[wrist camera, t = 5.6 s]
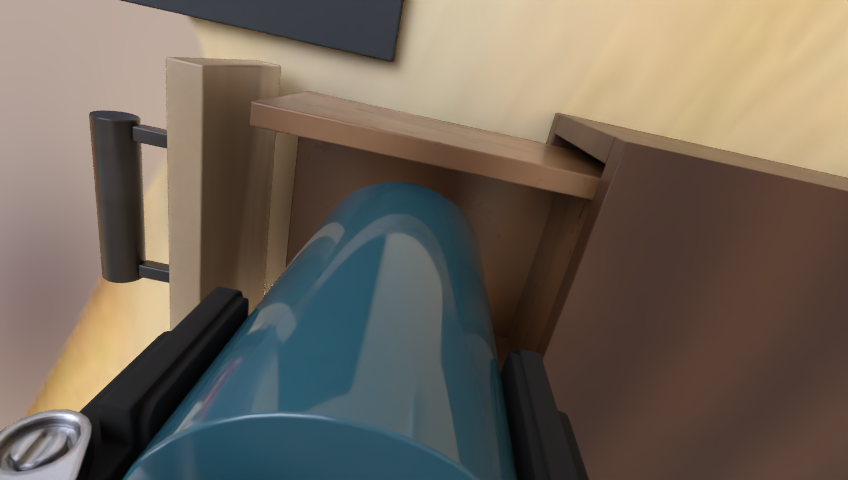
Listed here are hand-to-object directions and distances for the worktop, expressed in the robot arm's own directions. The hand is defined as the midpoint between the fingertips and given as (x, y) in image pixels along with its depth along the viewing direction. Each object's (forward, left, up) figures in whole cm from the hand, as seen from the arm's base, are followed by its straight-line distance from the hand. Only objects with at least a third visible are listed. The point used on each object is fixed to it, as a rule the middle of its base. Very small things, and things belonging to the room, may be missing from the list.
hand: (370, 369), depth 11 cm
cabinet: (0, +14, -13) cm, 19 cm away
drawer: (0, -3, -12) cm, 12 cm away
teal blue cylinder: (0, 0, -6) cm, 6 cm away
